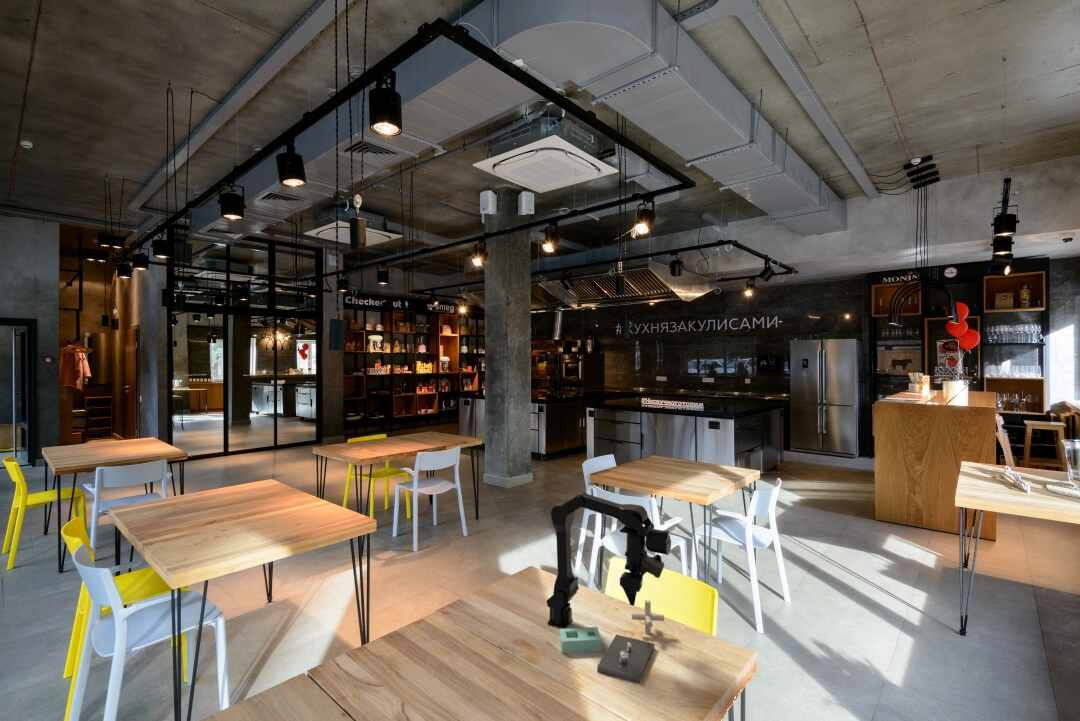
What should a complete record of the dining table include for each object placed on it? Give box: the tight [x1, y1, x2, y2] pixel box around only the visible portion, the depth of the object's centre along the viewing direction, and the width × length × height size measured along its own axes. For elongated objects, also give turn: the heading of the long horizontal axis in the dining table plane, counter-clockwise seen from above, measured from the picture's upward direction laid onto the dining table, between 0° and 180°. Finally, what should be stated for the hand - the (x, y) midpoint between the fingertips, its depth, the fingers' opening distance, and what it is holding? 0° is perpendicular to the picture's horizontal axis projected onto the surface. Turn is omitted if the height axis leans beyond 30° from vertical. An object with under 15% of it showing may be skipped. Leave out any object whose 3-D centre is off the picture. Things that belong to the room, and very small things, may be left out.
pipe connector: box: [631, 599, 665, 635], centre depth 162 cm, size 10×10×10 cm
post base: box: [596, 634, 656, 684], centre depth 148 cm, size 12×18×4 cm, turn 154°
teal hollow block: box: [558, 626, 603, 654], centre depth 155 cm, size 12×7×4 cm, turn 94°
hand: (635, 598), depth 157 cm, fingers open, 9 cm apart
